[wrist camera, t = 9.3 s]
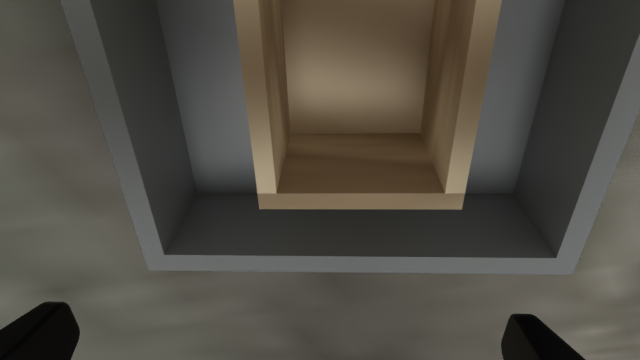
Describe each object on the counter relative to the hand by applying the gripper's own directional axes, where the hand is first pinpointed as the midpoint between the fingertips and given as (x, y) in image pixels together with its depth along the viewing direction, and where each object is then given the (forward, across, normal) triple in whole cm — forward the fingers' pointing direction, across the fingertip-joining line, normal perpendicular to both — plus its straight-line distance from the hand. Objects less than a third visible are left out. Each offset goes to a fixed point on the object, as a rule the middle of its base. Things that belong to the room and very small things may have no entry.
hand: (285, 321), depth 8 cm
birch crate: (+10, -2, -4) cm, 11 cm away
